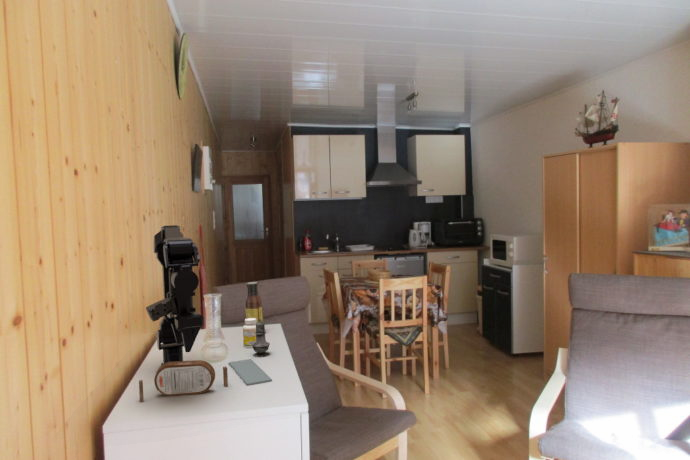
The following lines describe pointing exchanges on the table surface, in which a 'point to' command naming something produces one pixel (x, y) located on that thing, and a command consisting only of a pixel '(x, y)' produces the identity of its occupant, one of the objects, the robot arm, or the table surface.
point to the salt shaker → (260, 341)
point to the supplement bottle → (249, 332)
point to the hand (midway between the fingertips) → (183, 347)
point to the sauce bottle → (253, 302)
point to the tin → (184, 377)
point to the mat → (250, 372)
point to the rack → (225, 379)
